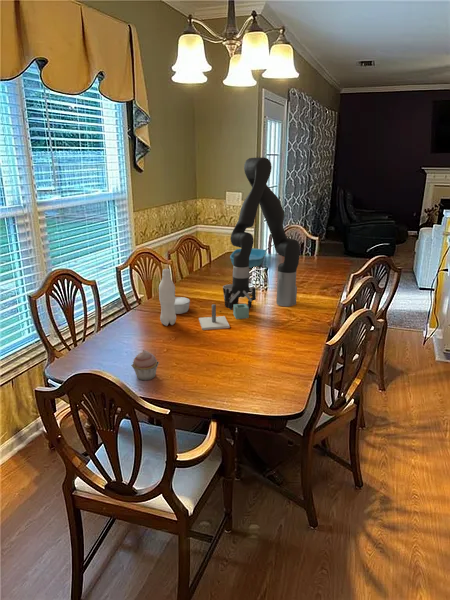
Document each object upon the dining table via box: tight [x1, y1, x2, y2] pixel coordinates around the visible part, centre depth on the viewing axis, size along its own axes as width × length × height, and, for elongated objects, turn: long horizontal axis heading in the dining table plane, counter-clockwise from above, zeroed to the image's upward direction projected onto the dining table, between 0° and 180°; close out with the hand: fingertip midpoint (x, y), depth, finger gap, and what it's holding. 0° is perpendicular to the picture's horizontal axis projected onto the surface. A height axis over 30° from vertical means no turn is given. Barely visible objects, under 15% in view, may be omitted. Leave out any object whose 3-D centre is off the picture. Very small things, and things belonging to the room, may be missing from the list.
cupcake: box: [131, 349, 160, 381], centre depth 153 cm, size 9×9×10 cm
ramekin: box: [174, 296, 191, 315], centre depth 215 cm, size 11×11×5 cm
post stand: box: [198, 303, 231, 331], centre depth 199 cm, size 12×12×9 cm
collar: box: [232, 303, 250, 320], centre depth 208 cm, size 6×6×5 cm
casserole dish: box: [229, 247, 267, 269], centre depth 303 cm, size 37×22×7 cm, turn 169°
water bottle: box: [158, 268, 177, 327], centre depth 196 cm, size 7×7×25 cm
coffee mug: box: [222, 283, 240, 309], centre depth 222 cm, size 12×9×10 cm
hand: (239, 309), depth 208 cm, fingers open, 8 cm apart
